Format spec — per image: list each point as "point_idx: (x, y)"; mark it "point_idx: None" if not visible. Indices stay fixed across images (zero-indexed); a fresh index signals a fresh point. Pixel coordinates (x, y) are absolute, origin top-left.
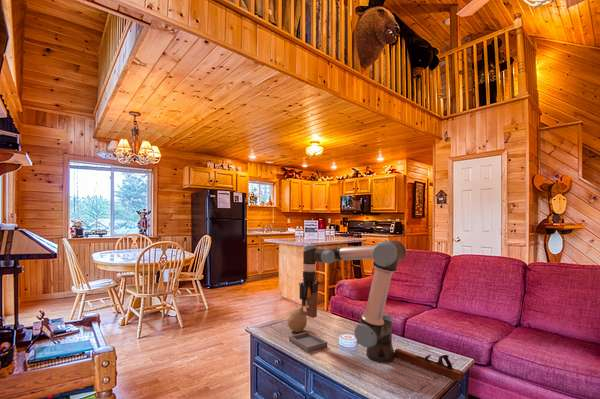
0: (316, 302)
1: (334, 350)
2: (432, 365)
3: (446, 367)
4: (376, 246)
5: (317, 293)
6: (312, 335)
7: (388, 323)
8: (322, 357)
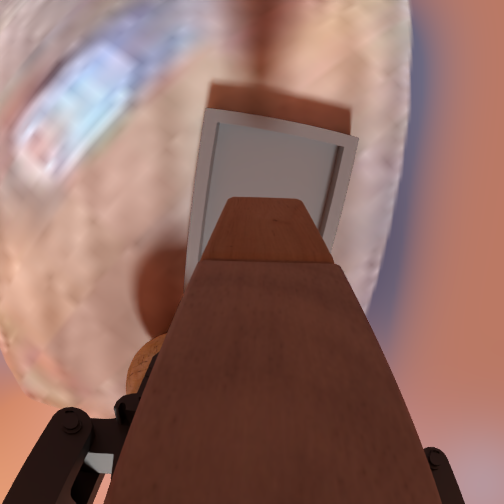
0: (214, 280)
1: (212, 60)
2: None
3: None
4: None
5: (26, 462)
6: (200, 239)
7: None
8: (330, 52)
